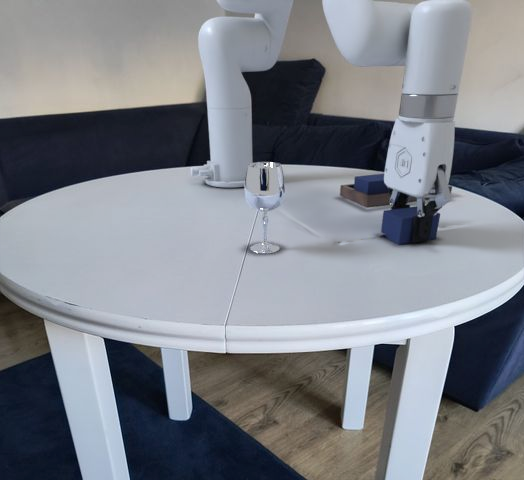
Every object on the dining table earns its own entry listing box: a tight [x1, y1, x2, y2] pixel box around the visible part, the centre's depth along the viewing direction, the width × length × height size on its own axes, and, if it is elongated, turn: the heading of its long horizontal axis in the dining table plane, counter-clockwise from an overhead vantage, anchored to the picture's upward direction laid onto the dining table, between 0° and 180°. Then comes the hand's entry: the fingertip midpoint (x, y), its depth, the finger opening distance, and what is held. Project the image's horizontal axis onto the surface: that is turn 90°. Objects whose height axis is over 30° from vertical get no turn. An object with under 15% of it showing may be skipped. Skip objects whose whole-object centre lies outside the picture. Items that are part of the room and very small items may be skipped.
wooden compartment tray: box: [339, 183, 453, 208], centre depth 97 cm, size 10×19×3 cm, turn 112°
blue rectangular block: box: [380, 205, 441, 245], centre depth 76 cm, size 7×5×4 cm
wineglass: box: [243, 161, 286, 255], centre depth 70 cm, size 6×6×12 cm
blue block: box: [353, 173, 389, 195], centre depth 95 cm, size 7×5×4 cm
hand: (408, 234), depth 77 cm, fingers closed on blue rectangular block, 5 cm apart
